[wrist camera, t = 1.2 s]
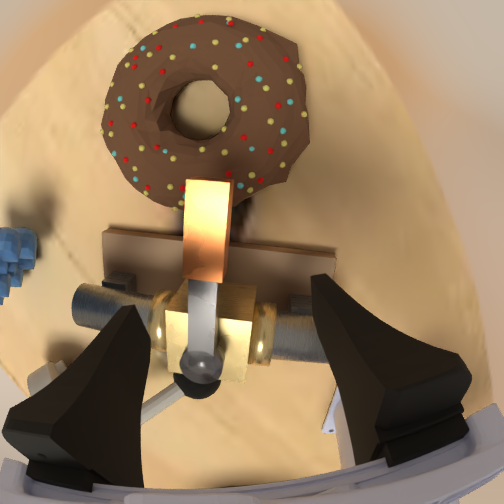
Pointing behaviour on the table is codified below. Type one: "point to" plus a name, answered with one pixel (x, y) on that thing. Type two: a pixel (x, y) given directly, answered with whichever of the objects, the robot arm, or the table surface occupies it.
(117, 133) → the donut
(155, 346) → the pipe and valve body
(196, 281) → the valve lever
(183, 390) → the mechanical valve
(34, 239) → the grapes
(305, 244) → the table surface
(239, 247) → the walnut board
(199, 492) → the robot arm
